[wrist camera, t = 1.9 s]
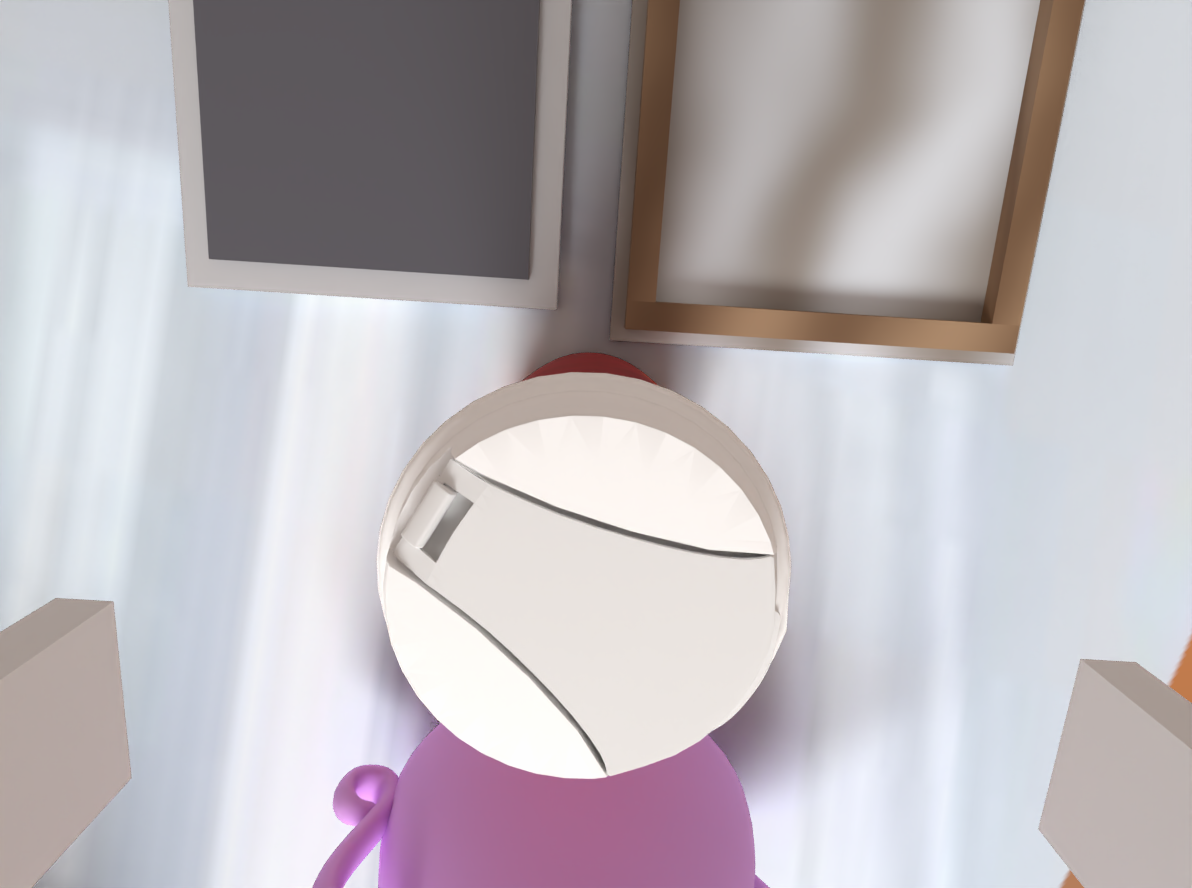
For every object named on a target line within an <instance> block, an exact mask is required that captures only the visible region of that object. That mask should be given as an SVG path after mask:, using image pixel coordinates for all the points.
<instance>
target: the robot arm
mask: <svg viewBox="0 0 1192 888" xmlns="http://www.w3.org/2000/svg"><path fill="white" fill-rule="evenodd" d="M130 779H131V768H130V759H129V749H128V739H127V729H126V720H125V710H124V700H123V690H122V681H121V671H120V661H119V651H118V642H117V632H116V622H115V612H114V603H113V601H97V600H80V599H63V598H55V599H53V600H52V601H50V602H49V603H47V604H45V605H44V606H42V607H40V608H39V609H37V610H36V611H34V612H32V613H31V614H29V615H27V616H26V617H24V618H22V619H21V620H19V621H18V622H16V623H14V624H13V625H11V626H9V627H8V628H6V629H5V630H3V631H1V632H0V888H32V887H33V886H34V885H35V884H36V883H37V881H38V880H39V879H40V878H41V877H42V876H43V875H44V874H45V873H46V872H47V870H48V869H49V868H50V867H51V866H52V865H53V864H54V863H55V862H56V861H57V859H58V858H59V857H60V856H61V855H62V854H63V853H64V852H65V851H66V850H67V848H68V847H69V846H70V845H71V844H72V843H73V842H74V841H75V840H76V839H77V837H78V836H79V835H80V834H81V833H82V832H83V831H84V830H85V829H86V828H87V826H88V825H89V824H90V823H91V822H92V821H93V820H94V819H95V818H96V817H97V815H98V814H99V813H100V812H101V811H102V810H103V809H104V808H105V807H106V806H107V804H108V803H109V802H110V801H111V800H112V799H113V798H114V797H115V796H116V795H117V793H118V792H119V791H120V790H121V789H122V788H123V787H124V786H125V785H126V784H127V782H128V781H129V780H130ZM1038 829H1039V831H1040V832H1041V833H1042V834H1043V836H1044V837H1045V838H1046V840H1047V841H1048V842H1049V843H1050V845H1051V846H1052V847H1053V848H1054V850H1055V851H1056V852H1057V854H1058V855H1059V856H1060V857H1061V859H1062V860H1063V861H1064V862H1065V864H1066V865H1067V866H1068V868H1069V869H1070V870H1071V871H1072V873H1073V874H1074V875H1075V877H1076V878H1077V879H1078V880H1079V881H1080V883H1081V884H1082V885H1083V887H1084V888H1192V703H1191V702H1189V701H1188V700H1186V699H1185V698H1184V697H1182V696H1181V695H1180V694H1178V693H1177V692H1175V691H1174V690H1173V689H1172V688H1170V687H1169V686H1167V685H1166V684H1165V683H1163V682H1162V681H1161V680H1159V679H1158V678H1157V677H1155V676H1154V675H1152V674H1151V673H1150V672H1148V671H1147V670H1146V669H1144V668H1143V667H1142V666H1140V665H1139V664H1138V663H1136V662H1123V661H1106V660H1089V659H1080V663H1079V667H1078V671H1077V675H1076V679H1075V683H1074V687H1073V691H1072V695H1071V699H1070V703H1069V707H1068V711H1067V715H1066V719H1065V723H1064V727H1063V731H1062V735H1061V740H1060V744H1059V748H1058V752H1057V756H1056V760H1055V764H1054V768H1053V772H1052V776H1051V780H1050V784H1049V788H1048V792H1047V796H1046V800H1045V804H1044V808H1043V812H1042V816H1041V820H1040V824H1039V828H1038Z"/></svg>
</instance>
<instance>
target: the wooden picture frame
mask: <svg viewBox="0 0 1192 888" xmlns="http://www.w3.org/2000/svg"><path fill="white" fill-rule="evenodd" d="M1085 1H1086V0H632V14H631V29H630V44H629V59H628V73H627V88H626V103H625V118H624V133H623V148H622V163H621V178H620V193H619V208H618V223H617V238H616V253H615V268H614V282H613V297H612V312H611V327H610V340H615V341H631V342H647V343H662V344H678V345H694V346H710V347H726V348H742V349H758V350H773V351H789V352H805V353H821V354H837V355H853V356H869V357H884V358H900V359H916V360H932V361H948V362H964V363H980V364H995V365H1011V366H1013V363H1014V358H1015V353H1016V348H1017V343H1018V338H1019V333H1020V328H1021V322H1022V317H1023V312H1024V307H1025V302H1026V297H1027V292H1028V287H1029V282H1030V277H1031V272H1032V267H1033V262H1034V257H1035V252H1036V247H1037V242H1038V237H1039V232H1040V227H1041V222H1042V217H1043V212H1044V207H1045V202H1046V197H1047V192H1048V187H1049V182H1050V177H1051V172H1052V167H1053V162H1054V157H1055V152H1056V147H1057V142H1058V137H1059V132H1060V126H1061V121H1062V116H1063V111H1064V106H1065V101H1066V96H1067V91H1068V86H1069V81H1070V76H1071V71H1072V66H1073V61H1074V56H1075V51H1076V46H1077V41H1078V36H1079V31H1080V26H1081V21H1082V16H1083V11H1084V6H1085Z"/></svg>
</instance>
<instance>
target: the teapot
mask: <svg viewBox="0 0 1192 888" xmlns="http://www.w3.org/2000/svg"><path fill="white" fill-rule="evenodd" d="M333 809H334V812H335V814H336V816H337V818H338V819H339V820H340V821H342V822H343V823H345V824H347V825H352V826H356V827H355V828H354V829H353V830H352V831H351V832H350V833H349V834H348V835H347V837H346V838H345V839H344V840H343V841H342V842H341V843H340V845H339V846H338V847H337V848H336V849H335V851H334V852H333V853H332V855H331V856H330V857H329V859H328V860H327V862H326V863H325V865H324V866H323V868H322V870H321V871H320V873H319V875H318V877H317V879H316V881H315V883H314V885H313V888H343V887H344V885H345V884H346V882H347V880H348V879H349V877H350V876H351V875H352V873H353V872H354V871H355V869H356V868H357V867H358V866H359V864H360V863H361V862H362V861H363V860H364V859H365V857H366V856H367V855H368V854H369V853H370V852H371V850H372V849H373V848H374V847H375V846H376V844H377V843H378V842H379V841H380V840H381V838H382V840H381V847H380V859H379V879H378V888H769V887H768V886H767V885H766V884H765V883H764V882H763V881H762V880H760V879H759V878H758V877H757V876H756V875H755V849H754V838H753V829H752V822H751V818H750V814H749V809H748V805H747V802H746V798H745V794H744V791H743V788H742V786H741V783H740V781H739V779H738V777H737V774H736V772H735V770H734V768H733V767H732V765H731V764H730V762H729V760H728V759H727V757H726V756H725V754H724V753H723V751H722V750H721V749H720V748H719V747H718V745H717V744H716V743H715V742H714V741H713V740H712V738H711V737H710V736H709V735H706V736H705V737H704V738H703V739H702V740H700V741H699V742H697V743H695V744H694V745H692V746H690V747H688V748H687V749H685V750H683V751H681V752H679V753H678V754H676V755H674V756H671V757H668V758H666V759H663V760H660V761H657V762H655V763H652V764H649V765H646V766H644V767H640V768H637V769H633V770H630V771H627V772H623V773H620V774H616V775H613V776H607V777H604V778H596V779H584V778H561V777H554V776H548V775H541V774H536V773H532V772H529V771H526V770H522V769H519V768H516V767H512V766H509V765H507V764H504V763H502V762H500V761H498V760H496V759H494V758H491V757H489V756H487V755H485V754H483V753H481V752H479V751H478V750H476V749H475V748H473V747H472V746H470V745H469V744H467V743H465V742H464V741H462V740H461V739H459V738H458V737H457V736H456V735H454V734H453V733H452V732H451V731H450V730H449V729H448V728H446V727H445V726H444V725H443V724H442V723H440V724H439V725H438V726H437V727H436V728H434V729H433V730H432V731H431V732H430V733H429V734H428V735H427V736H426V737H425V738H424V739H423V741H422V742H421V743H420V744H419V746H418V747H417V748H416V749H415V751H414V752H413V753H412V755H411V756H410V758H409V760H408V761H407V763H406V765H405V767H404V768H403V770H402V772H401V774H400V776H399V778H398V776H397V775H396V774H395V773H394V772H393V771H392V770H391V769H389V768H387V767H384V766H380V765H363V766H359V767H356V768H354V769H352V770H351V771H349V772H348V773H347V774H346V775H345V776H344V777H343V779H342V780H341V781H340V783H339V784H338V786H337V788H336V790H335V793H334V799H333Z"/></svg>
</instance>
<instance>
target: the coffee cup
mask: <svg viewBox="0 0 1192 888" xmlns="http://www.w3.org/2000/svg"><path fill="white" fill-rule="evenodd" d="M790 575H791V559H790V545H789V536H788V532H787V528H786V524H785V520H784V516H783V512H782V508H781V505H780V503H779V501H778V498H777V496H776V494H775V492H774V489H773V487H772V485H771V483H770V480H769V478H768V477H767V475H766V474H765V472H764V471H763V469H762V468H761V466H760V465H759V463H758V461H757V460H756V458H755V457H754V455H753V454H752V452H751V451H750V450H749V449H748V448H747V447H746V446H745V445H744V444H743V442H742V441H741V440H740V439H739V438H738V437H737V436H736V435H735V434H734V433H733V432H732V431H731V430H730V429H729V427H727V426H726V425H725V424H724V423H722V422H721V421H720V420H718V419H717V418H716V417H715V416H713V415H712V414H711V413H709V412H708V411H707V410H705V409H704V408H703V407H702V406H700V405H698V404H696V403H694V402H692V401H690V400H689V399H687V398H685V397H683V396H681V395H679V394H677V393H676V392H674V391H672V390H669V389H666V388H663V387H660V386H658V385H657V384H656V383H655V382H654V381H653V380H652V379H650V378H649V377H648V376H647V375H646V374H644V373H643V372H642V371H640V370H639V369H638V368H636V367H635V366H633V365H631V364H630V363H628V362H626V361H624V360H622V359H619V358H617V357H614V356H610V355H606V354H601V353H576V354H571V355H567V356H563V357H560V358H558V359H555V360H553V361H551V362H549V363H547V364H545V365H544V366H542V367H541V368H539V369H537V370H536V371H535V372H533V373H532V374H531V375H529V376H528V377H527V378H525V379H524V380H523V381H521V382H518V383H515V384H511V385H508V386H505V387H502V388H500V389H498V390H496V391H494V392H492V393H490V394H488V395H486V396H484V397H482V398H479V399H477V400H475V401H473V402H472V403H470V404H469V405H468V406H466V407H465V408H463V409H462V410H460V411H459V412H458V413H456V414H455V415H453V416H452V417H450V418H449V419H448V420H446V421H445V422H444V423H443V424H442V425H441V426H440V427H439V428H438V429H437V430H436V431H435V432H434V433H433V434H432V435H431V436H430V437H429V438H428V439H427V440H426V441H425V442H424V443H423V444H422V445H421V446H420V448H419V449H418V450H417V452H416V453H415V455H414V456H413V457H412V459H411V460H410V461H409V463H408V464H407V466H406V467H405V468H404V470H403V471H402V473H401V475H400V477H399V479H398V481H397V483H396V485H395V487H394V490H393V492H392V494H391V496H390V498H389V500H388V504H387V507H386V510H385V514H384V517H383V520H382V524H381V527H380V533H379V542H378V550H377V579H378V591H379V596H380V600H381V605H382V609H383V614H384V618H385V621H386V623H387V628H388V632H389V637H390V641H391V645H392V647H393V650H394V652H395V655H396V657H397V660H398V662H399V665H400V667H401V670H402V672H403V673H404V675H405V677H406V678H407V680H408V682H409V683H410V685H411V687H412V688H413V690H414V691H415V693H416V695H417V696H418V698H419V699H420V700H421V701H422V702H423V703H424V705H425V706H426V707H427V708H428V709H429V711H430V712H431V713H432V714H433V715H434V716H435V718H436V719H437V720H438V721H439V722H441V723H442V724H443V725H444V726H445V727H446V728H448V729H449V730H450V731H451V732H452V733H453V734H454V735H456V736H457V737H458V738H459V739H461V740H462V741H464V742H465V743H467V744H469V745H470V746H472V747H473V748H475V749H476V750H478V751H479V752H481V753H483V754H485V755H487V756H489V757H491V758H494V759H496V760H498V761H500V762H502V763H504V764H507V765H509V766H512V767H516V768H519V769H522V770H526V771H529V772H532V773H536V774H541V775H548V776H554V777H561V778H584V779H596V778H604V777H607V776H613V775H616V774H620V773H623V772H627V771H630V770H633V769H637V768H640V767H644V766H646V765H649V764H652V763H655V762H657V761H660V760H663V759H666V758H668V757H671V756H674V755H676V754H678V753H679V752H681V751H683V750H685V749H687V748H688V747H690V746H692V745H694V744H695V743H697V742H699V741H700V740H702V739H703V738H704V737H705V736H706V735H708V734H709V733H710V732H711V731H713V730H715V729H717V728H718V727H720V726H722V725H723V724H724V723H726V722H727V721H728V720H729V719H731V718H732V717H733V716H734V715H735V714H736V713H737V712H738V711H739V710H740V709H741V708H742V707H743V706H744V704H745V703H746V702H747V701H748V699H749V698H750V697H751V696H752V694H753V693H754V692H755V690H756V689H757V688H758V686H759V685H760V683H761V681H762V680H763V678H764V676H765V675H766V673H767V671H768V669H769V666H770V664H771V662H772V660H773V658H774V657H775V655H776V652H777V650H778V648H779V646H780V644H781V641H782V639H783V637H784V635H785V633H786V630H787V614H788V596H789V585H790Z"/></svg>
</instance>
